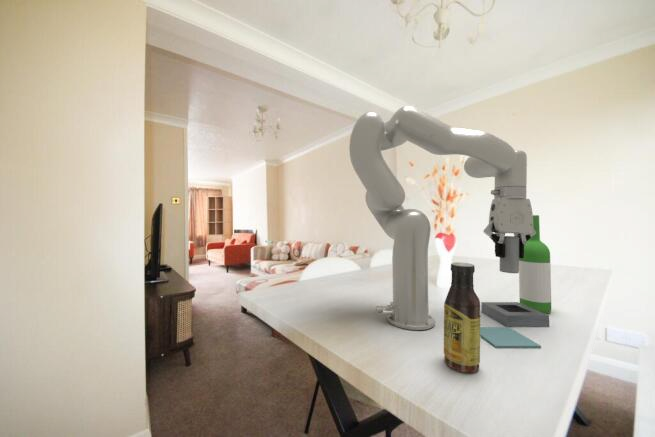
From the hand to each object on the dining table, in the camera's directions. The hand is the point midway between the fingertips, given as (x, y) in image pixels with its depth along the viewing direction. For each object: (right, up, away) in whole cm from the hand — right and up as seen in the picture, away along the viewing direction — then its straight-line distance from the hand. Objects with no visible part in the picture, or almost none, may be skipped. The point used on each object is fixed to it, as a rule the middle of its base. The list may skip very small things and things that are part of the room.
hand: (509, 256), depth 73 cm
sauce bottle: (-27, -18, -24) cm, 40 cm away
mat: (-10, -18, -12) cm, 24 cm away
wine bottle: (+13, -18, +7) cm, 23 cm away
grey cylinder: (0, -5, 0) cm, 5 cm away
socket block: (+1, -18, 0) cm, 18 cm away
